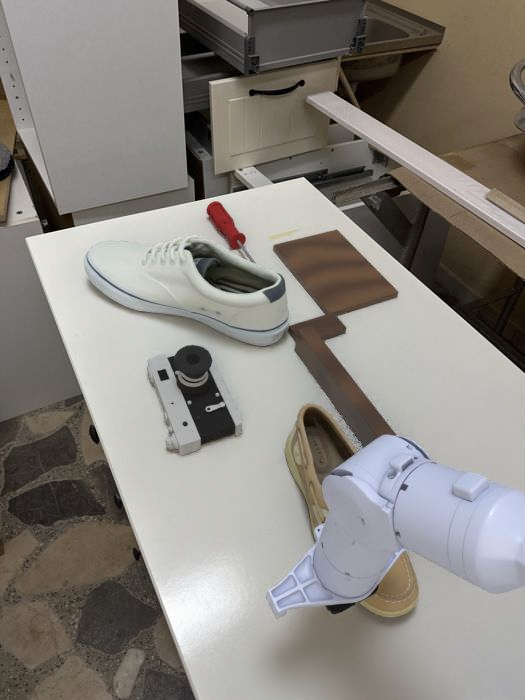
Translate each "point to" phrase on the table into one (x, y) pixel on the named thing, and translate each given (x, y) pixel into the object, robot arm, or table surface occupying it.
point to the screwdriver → (227, 226)
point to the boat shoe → (309, 472)
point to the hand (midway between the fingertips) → (328, 598)
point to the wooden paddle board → (335, 319)
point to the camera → (193, 399)
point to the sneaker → (193, 285)
